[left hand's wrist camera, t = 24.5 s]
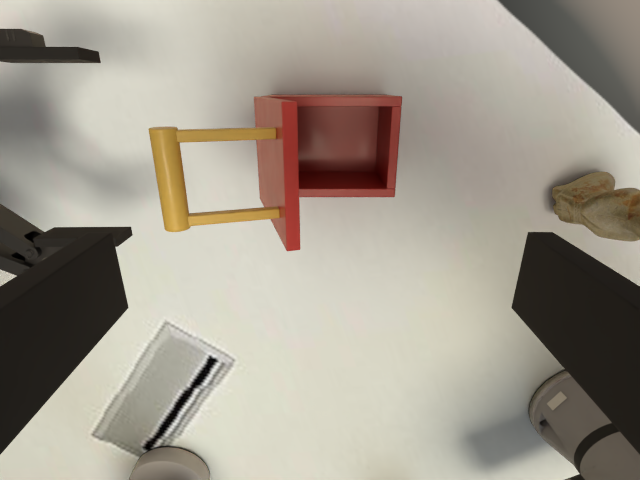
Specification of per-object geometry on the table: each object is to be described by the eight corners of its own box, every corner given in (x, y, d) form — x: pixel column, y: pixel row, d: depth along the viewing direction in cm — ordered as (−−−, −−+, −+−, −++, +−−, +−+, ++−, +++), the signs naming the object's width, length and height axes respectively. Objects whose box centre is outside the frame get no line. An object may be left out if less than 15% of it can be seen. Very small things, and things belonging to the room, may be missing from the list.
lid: (297, 101, 22) (137, 102, 20) (300, 250, 26) (165, 265, 23) (264, 96, 34) (162, 97, 32) (269, 198, 38) (178, 205, 35)
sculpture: (603, 207, 48) (720, 256, 34) (545, 221, 49) (635, 275, 35) (604, 162, 46) (728, 195, 32) (542, 178, 46) (638, 216, 33)
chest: (385, 94, 43) (402, 96, 34) (380, 176, 47) (394, 197, 38) (272, 94, 43) (259, 96, 34) (275, 176, 47) (265, 197, 38)
